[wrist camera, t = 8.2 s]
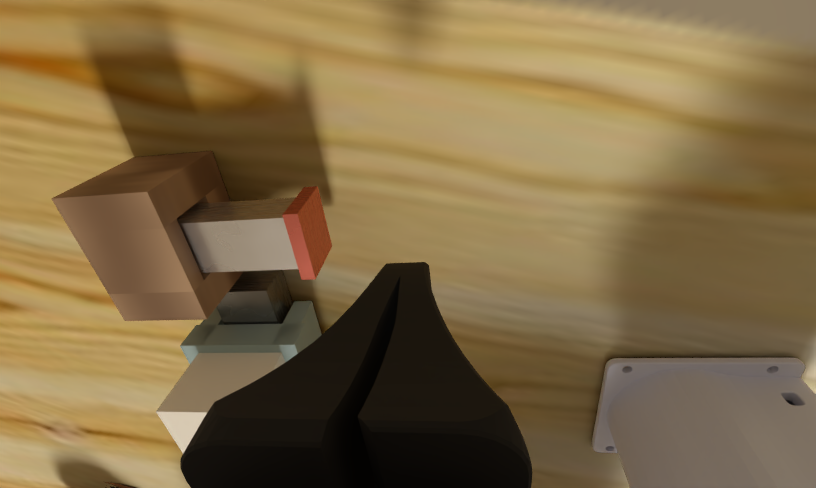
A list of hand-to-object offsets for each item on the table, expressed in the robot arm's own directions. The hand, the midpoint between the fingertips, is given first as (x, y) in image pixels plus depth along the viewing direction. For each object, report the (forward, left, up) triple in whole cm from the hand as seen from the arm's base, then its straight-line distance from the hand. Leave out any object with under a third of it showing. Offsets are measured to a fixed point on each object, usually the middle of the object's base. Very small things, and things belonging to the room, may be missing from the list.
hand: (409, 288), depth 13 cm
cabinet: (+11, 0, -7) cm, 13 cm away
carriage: (+9, +8, -7) cm, 14 cm away
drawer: (+7, 0, -5) cm, 9 cm away
